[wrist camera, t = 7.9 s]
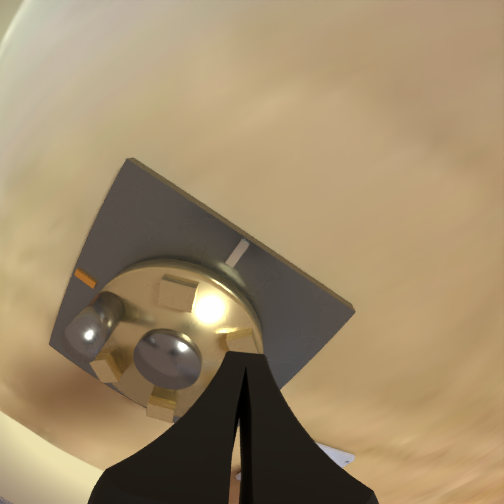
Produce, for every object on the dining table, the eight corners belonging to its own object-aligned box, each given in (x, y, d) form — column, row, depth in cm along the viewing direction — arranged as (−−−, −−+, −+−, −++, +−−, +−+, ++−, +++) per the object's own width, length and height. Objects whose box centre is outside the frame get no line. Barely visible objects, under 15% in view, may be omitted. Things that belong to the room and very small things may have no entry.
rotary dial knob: (300, 342, 19) (311, 409, 14) (190, 419, 22) (177, 478, 16) (161, 218, 17) (118, 254, 11) (73, 330, 19) (33, 379, 14)
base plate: (219, 434, 24) (218, 444, 23) (54, 338, 21) (47, 345, 20) (351, 304, 19) (356, 313, 18) (133, 157, 17) (125, 158, 16)
